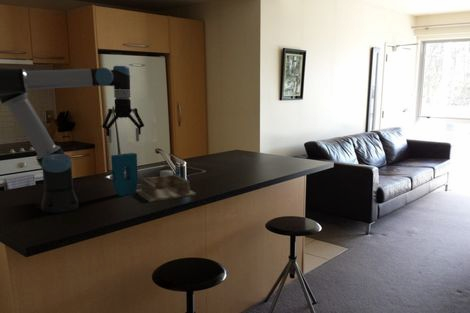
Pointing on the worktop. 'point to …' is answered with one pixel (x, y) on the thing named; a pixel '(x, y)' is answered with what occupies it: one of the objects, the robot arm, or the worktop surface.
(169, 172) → the grey rounded piece
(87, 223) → the worktop surface
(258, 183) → the worktop surface
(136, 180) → the block
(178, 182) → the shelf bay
